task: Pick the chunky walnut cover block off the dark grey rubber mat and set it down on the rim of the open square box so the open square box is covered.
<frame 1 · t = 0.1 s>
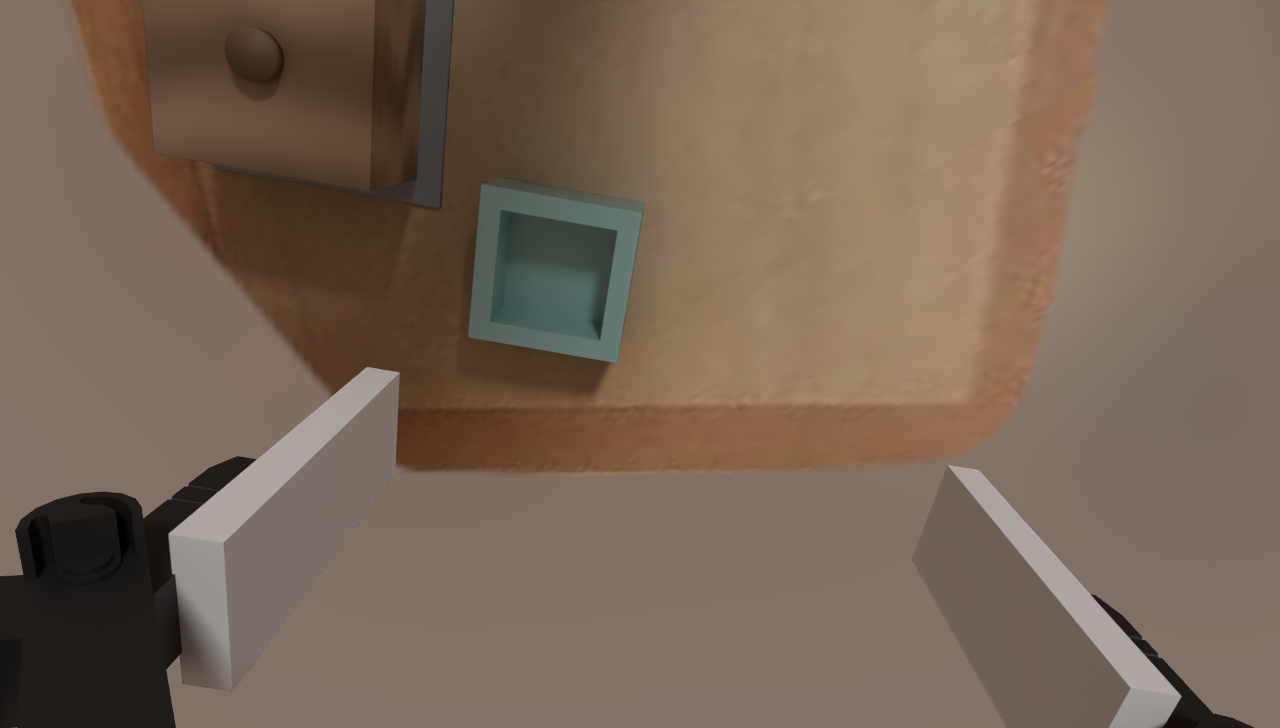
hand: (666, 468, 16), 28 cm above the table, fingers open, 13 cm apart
lid: (327, 66, 39), resting on mat
open square box: (562, 261, 43), on the table
mat: (329, 66, 39), on the table
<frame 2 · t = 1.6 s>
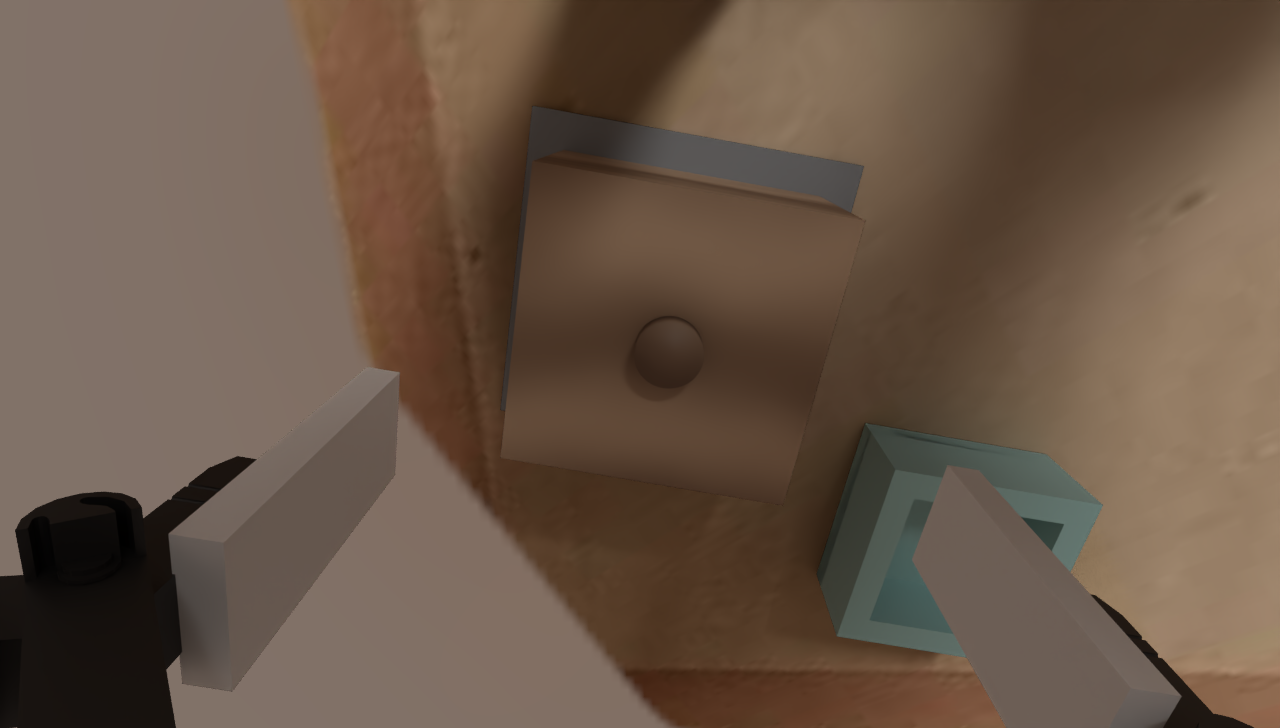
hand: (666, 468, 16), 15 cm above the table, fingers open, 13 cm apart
lid: (668, 297, 30), resting on mat
open square box: (926, 516, 34), on the table
mat: (668, 296, 30), on the table
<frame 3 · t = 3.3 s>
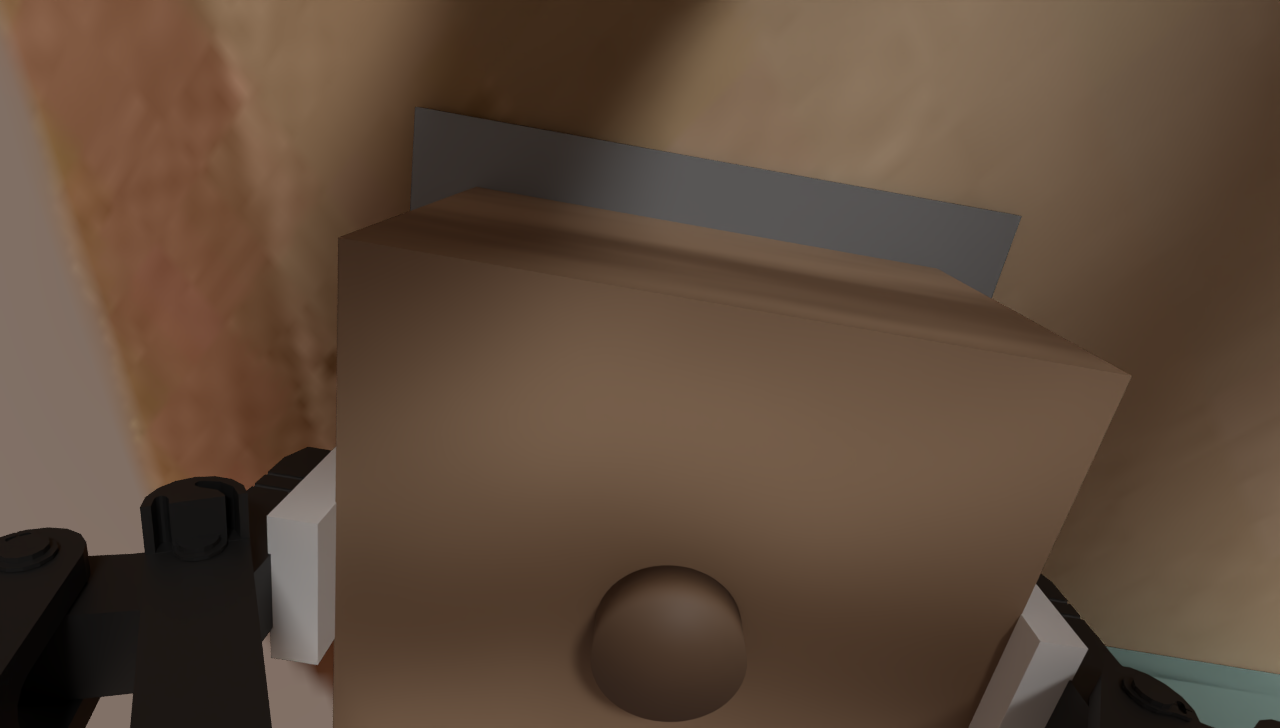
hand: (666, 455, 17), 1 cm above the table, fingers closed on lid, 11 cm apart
lid: (666, 435, 18), resting on mat, touching gripper
mat: (666, 432, 18), on the table
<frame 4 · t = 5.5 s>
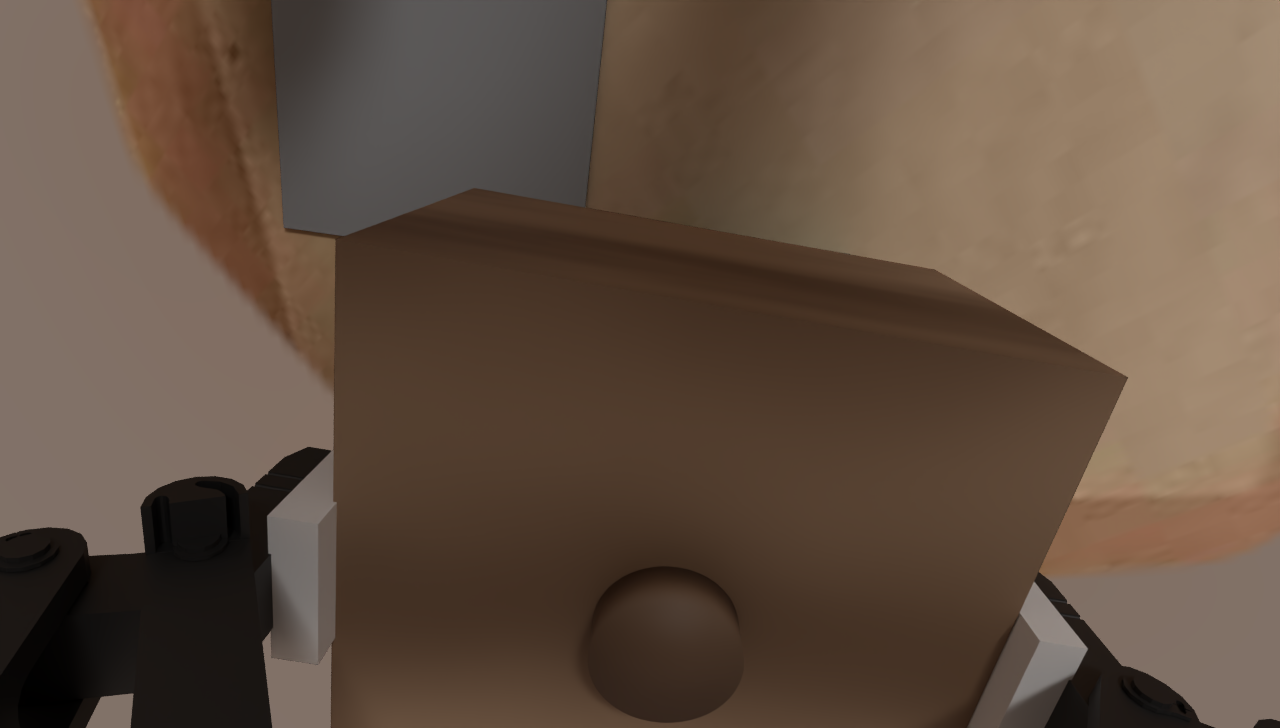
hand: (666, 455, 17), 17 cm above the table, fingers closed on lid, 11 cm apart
lid: (664, 436, 18), point 15 cm above the table, touching gripper
mat: (436, 90, 29), on the table
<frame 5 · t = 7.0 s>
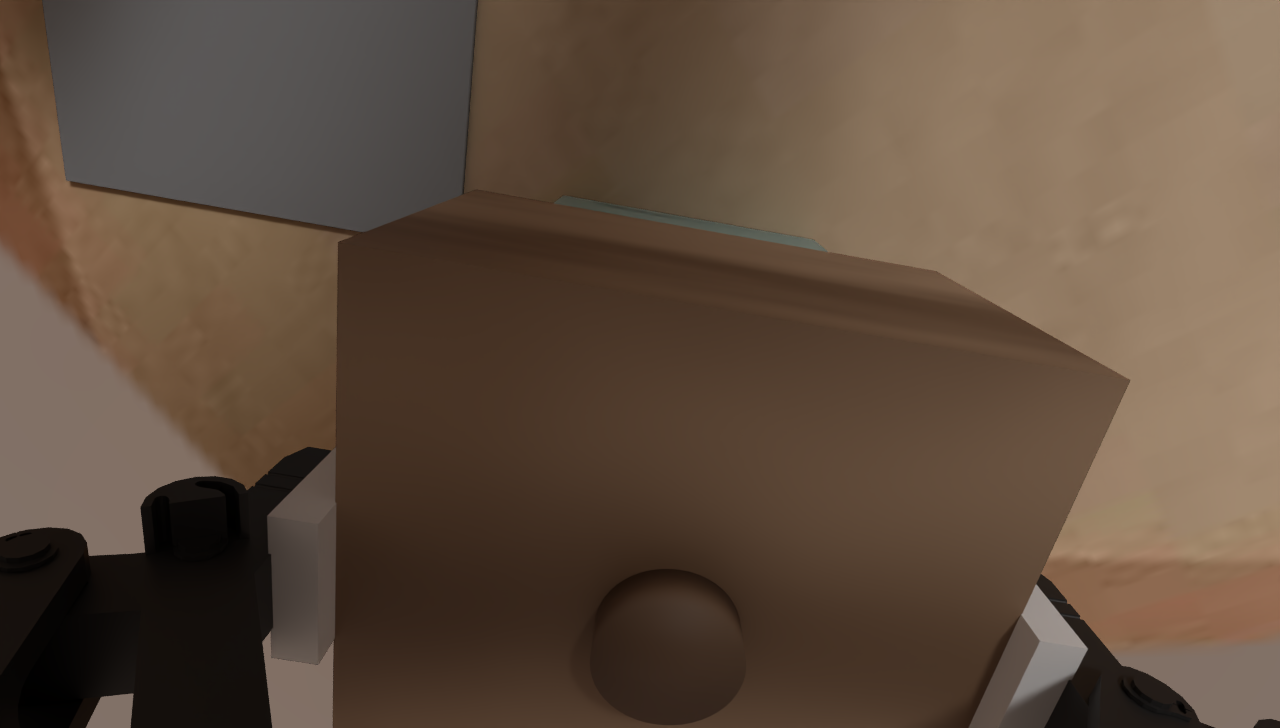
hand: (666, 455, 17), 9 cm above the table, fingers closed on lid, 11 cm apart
lid: (665, 438, 18), point 8 cm above the table, touching gripper
open square box: (666, 336, 25), on the table
when the fingers open (7 cm above the table, at t = 8.0 s): lid drops 2 cm, resting on open square box.
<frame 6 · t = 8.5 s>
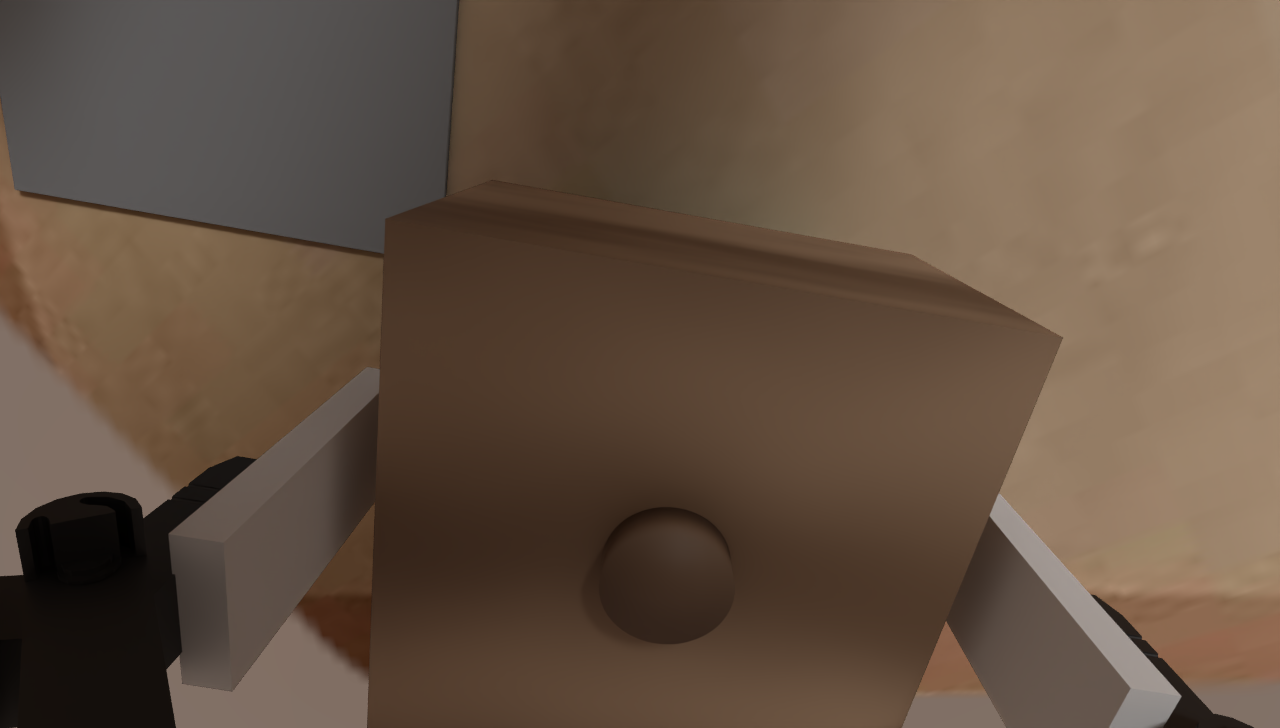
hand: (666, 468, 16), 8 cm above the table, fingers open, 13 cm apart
lid: (665, 409, 19), point 4 cm above the table, touching open square box
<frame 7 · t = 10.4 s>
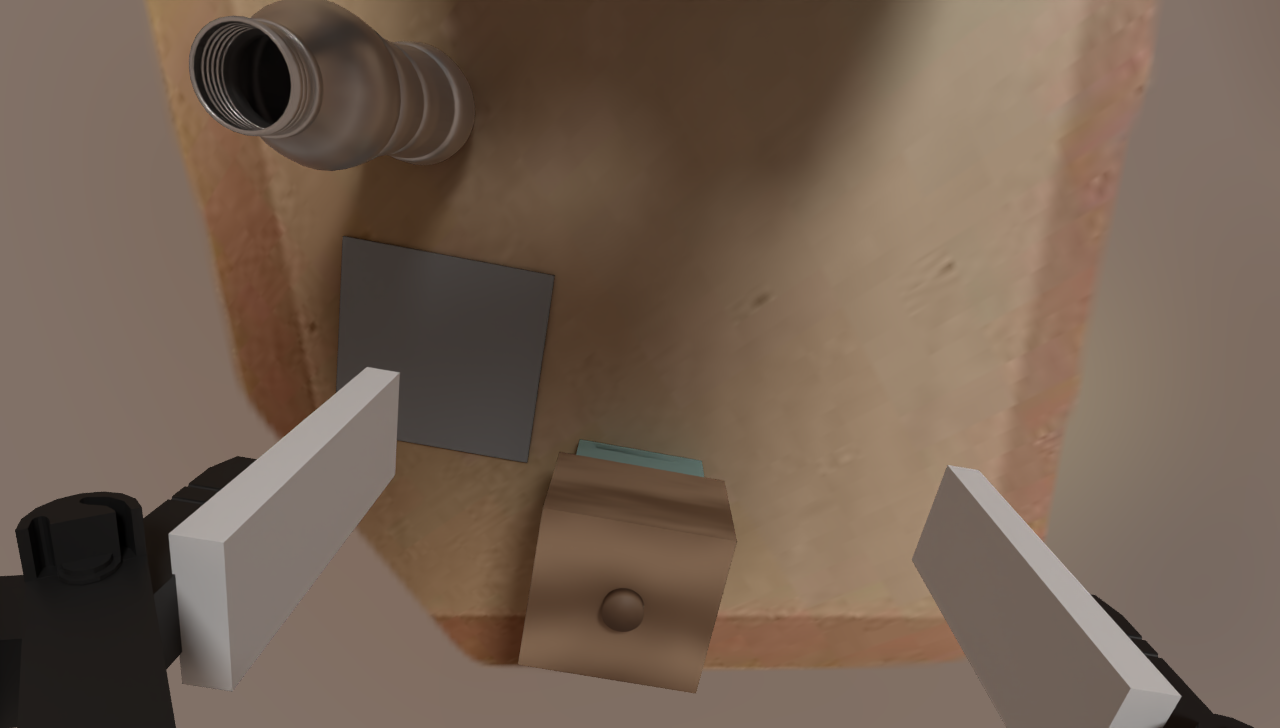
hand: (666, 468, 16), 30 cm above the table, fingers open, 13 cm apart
lid: (627, 537, 45), point 4 cm above the table, touching open square box
plastic bottle: (432, 106, 41), on the table
open square box: (629, 503, 50), on the table
mat: (440, 354, 46), on the table
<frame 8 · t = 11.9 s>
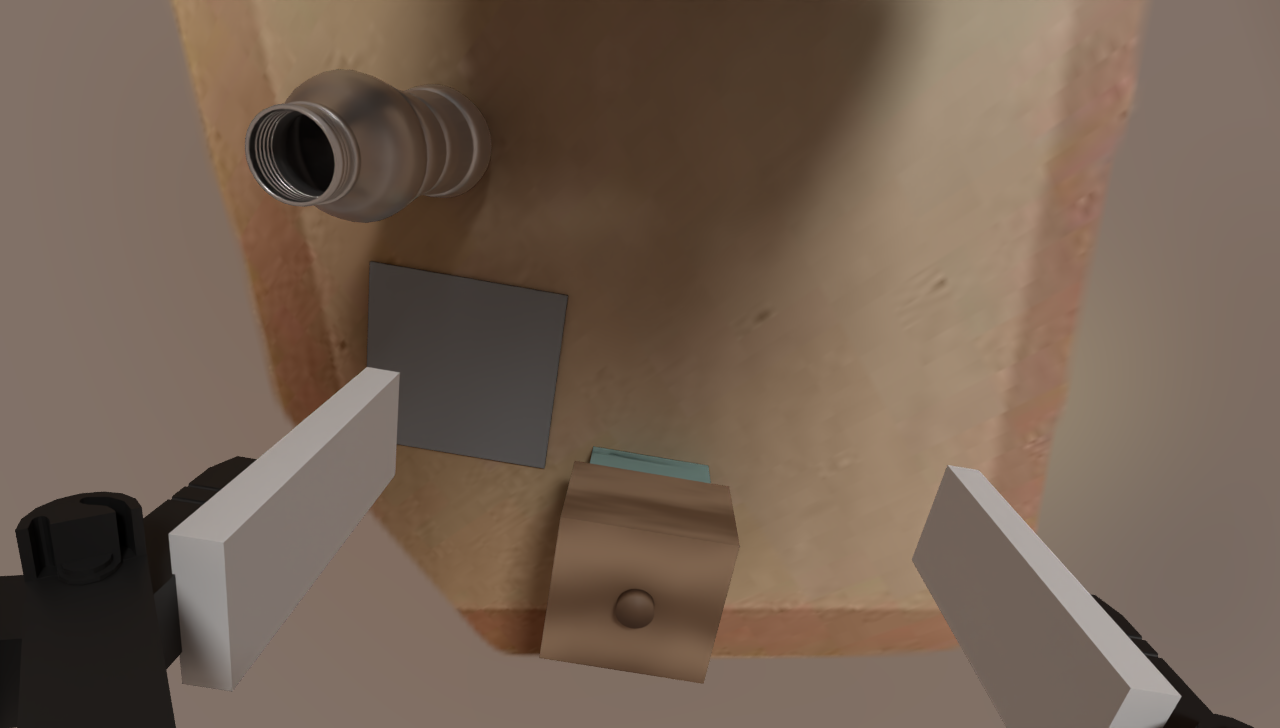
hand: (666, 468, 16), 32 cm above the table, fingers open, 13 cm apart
lid: (639, 538, 49), point 4 cm above the table, touching open square box
plastic bottle: (451, 140, 44), on the table
open square box: (641, 505, 53), on the table
mat: (462, 369, 49), on the table
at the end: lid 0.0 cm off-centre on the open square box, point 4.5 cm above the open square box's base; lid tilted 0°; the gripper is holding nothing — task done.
